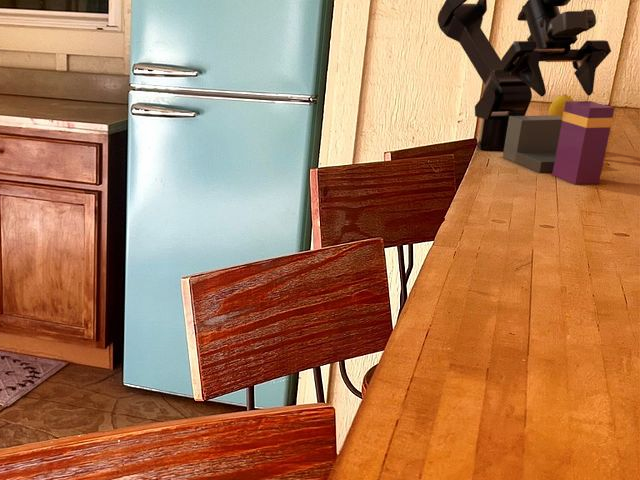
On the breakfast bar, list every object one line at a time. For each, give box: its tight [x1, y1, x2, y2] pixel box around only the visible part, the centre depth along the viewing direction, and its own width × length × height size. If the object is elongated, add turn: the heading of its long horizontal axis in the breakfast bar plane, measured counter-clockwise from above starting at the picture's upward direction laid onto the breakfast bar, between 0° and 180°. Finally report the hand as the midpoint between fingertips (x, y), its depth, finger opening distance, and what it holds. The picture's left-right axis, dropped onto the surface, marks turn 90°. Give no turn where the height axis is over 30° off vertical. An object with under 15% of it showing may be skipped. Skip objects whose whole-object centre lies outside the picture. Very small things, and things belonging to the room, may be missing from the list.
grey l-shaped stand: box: [502, 114, 562, 174], centre depth 168 cm, size 14×10×8 cm
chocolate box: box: [551, 100, 615, 185], centre depth 155 cm, size 5×8×13 cm, turn 8°
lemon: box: [547, 94, 574, 117], centre depth 202 cm, size 6×6×8 cm
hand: (567, 94), depth 160 cm, fingers open, 9 cm apart
